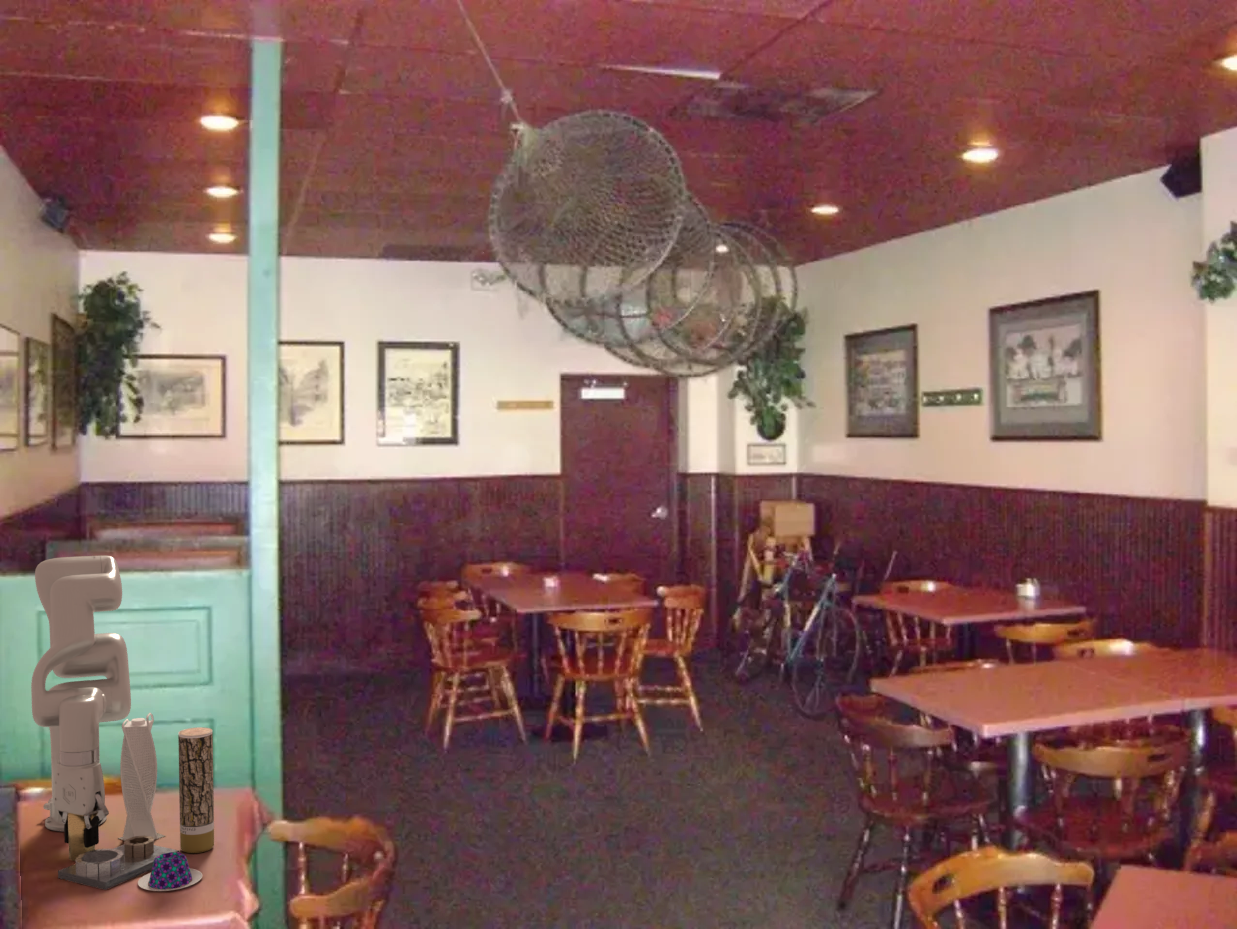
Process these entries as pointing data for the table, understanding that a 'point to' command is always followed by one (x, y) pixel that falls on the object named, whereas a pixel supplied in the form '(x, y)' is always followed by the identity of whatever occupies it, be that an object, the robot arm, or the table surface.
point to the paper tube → (196, 789)
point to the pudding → (170, 873)
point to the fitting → (77, 836)
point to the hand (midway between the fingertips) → (81, 842)
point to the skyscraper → (138, 777)
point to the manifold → (114, 863)
